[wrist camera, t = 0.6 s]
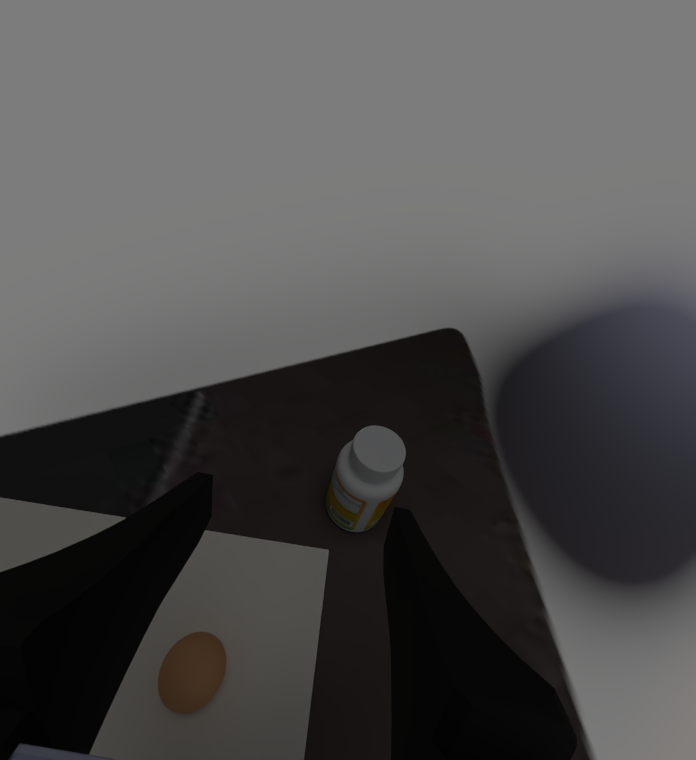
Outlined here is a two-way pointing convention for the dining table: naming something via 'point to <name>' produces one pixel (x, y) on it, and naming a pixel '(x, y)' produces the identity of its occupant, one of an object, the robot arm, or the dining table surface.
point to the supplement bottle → (365, 478)
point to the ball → (192, 672)
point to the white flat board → (213, 615)
